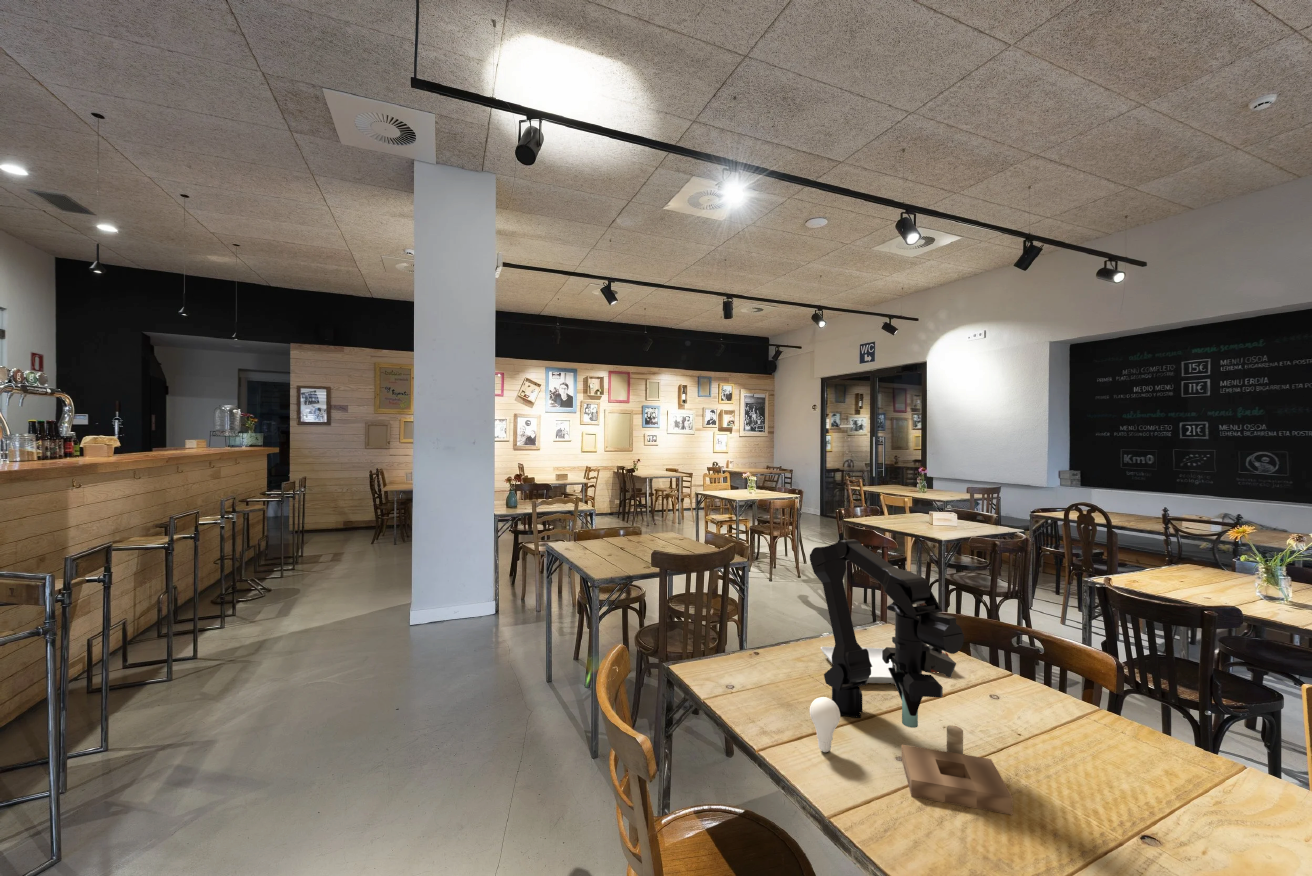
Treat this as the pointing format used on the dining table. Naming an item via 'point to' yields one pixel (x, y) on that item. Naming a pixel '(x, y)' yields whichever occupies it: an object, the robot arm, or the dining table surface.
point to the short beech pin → (954, 739)
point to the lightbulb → (824, 721)
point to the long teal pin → (908, 716)
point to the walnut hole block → (955, 779)
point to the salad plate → (878, 668)
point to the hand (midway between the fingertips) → (910, 711)
